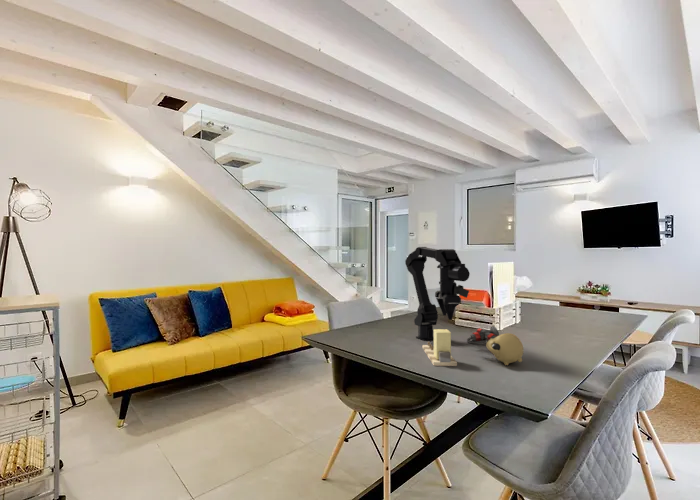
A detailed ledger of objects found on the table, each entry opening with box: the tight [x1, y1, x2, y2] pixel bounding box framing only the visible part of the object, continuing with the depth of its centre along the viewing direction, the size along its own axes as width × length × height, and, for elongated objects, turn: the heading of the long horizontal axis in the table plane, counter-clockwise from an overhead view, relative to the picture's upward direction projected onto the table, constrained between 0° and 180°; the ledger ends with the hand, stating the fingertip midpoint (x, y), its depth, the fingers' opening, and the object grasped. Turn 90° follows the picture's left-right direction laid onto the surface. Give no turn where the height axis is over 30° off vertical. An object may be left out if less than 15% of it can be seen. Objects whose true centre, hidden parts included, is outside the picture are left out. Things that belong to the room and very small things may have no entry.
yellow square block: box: [433, 328, 452, 359], centre depth 123 cm, size 5×5×10 cm
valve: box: [466, 326, 500, 345], centre depth 146 cm, size 6×26×15 cm
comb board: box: [422, 340, 458, 367], centre depth 129 cm, size 22×8×4 cm, turn 178°
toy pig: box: [485, 332, 525, 366], centre depth 121 cm, size 10×12×11 cm
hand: (447, 317), depth 140 cm, fingers open, 9 cm apart
